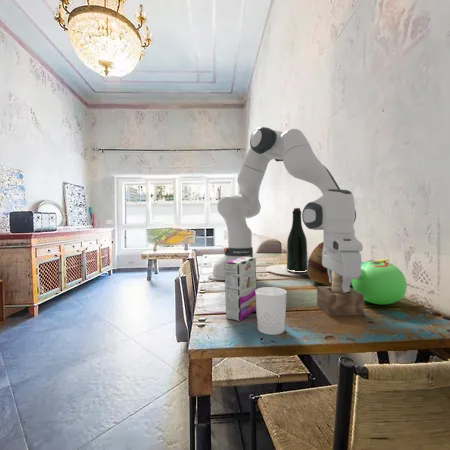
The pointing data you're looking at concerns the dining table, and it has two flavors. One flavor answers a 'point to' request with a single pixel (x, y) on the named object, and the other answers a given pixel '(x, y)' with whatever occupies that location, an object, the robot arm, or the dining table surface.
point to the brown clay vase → (318, 267)
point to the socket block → (339, 302)
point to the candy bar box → (240, 287)
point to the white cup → (271, 310)
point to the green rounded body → (380, 282)
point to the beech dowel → (336, 283)
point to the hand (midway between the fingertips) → (338, 287)
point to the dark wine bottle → (297, 245)
